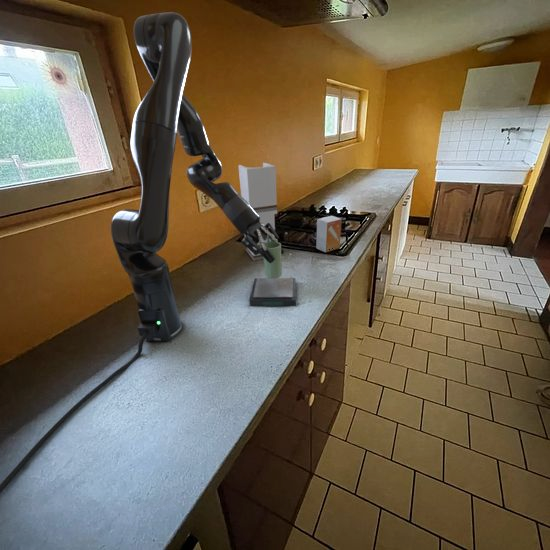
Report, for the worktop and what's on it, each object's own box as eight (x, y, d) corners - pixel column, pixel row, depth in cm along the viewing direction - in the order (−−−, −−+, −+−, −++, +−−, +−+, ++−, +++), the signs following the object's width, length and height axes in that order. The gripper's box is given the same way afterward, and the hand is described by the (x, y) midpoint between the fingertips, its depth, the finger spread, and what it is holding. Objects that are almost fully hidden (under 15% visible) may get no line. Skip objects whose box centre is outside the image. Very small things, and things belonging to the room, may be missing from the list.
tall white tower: (278, 256, 124) (275, 166, 107) (253, 260, 120) (246, 168, 104) (269, 246, 133) (265, 162, 117) (246, 250, 130) (238, 165, 114)
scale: (296, 306, 90) (296, 299, 89) (249, 306, 91) (249, 299, 90) (295, 283, 103) (295, 276, 102) (254, 283, 104) (254, 276, 103)
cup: (281, 278, 92) (280, 248, 87) (263, 278, 92) (262, 248, 87) (282, 270, 96) (281, 241, 92) (265, 270, 97) (263, 241, 92)
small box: (325, 253, 124) (327, 222, 118) (315, 248, 129) (316, 218, 123) (340, 248, 128) (342, 218, 122) (329, 244, 133) (331, 215, 127)
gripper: (233, 213, 82) (273, 260, 82) (260, 200, 93) (295, 242, 94) (220, 229, 87) (258, 273, 87) (247, 215, 98) (281, 255, 98)
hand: (277, 257), depth 90 cm, fingers closed on cup, 5 cm apart
